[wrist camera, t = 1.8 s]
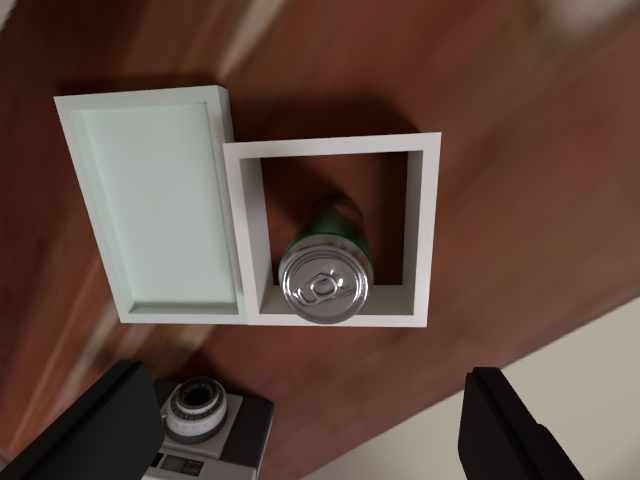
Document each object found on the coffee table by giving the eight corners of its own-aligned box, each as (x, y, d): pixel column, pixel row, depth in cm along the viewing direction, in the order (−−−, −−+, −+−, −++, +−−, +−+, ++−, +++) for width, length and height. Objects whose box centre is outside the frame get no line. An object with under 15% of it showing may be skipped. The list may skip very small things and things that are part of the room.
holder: (246, 142, 24) (222, 143, 20) (422, 133, 23) (441, 132, 18) (264, 294, 29) (248, 324, 24) (412, 294, 27) (426, 327, 23)
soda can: (373, 234, 26) (394, 307, 15) (323, 259, 27) (306, 345, 16) (346, 183, 25) (345, 219, 13) (295, 211, 26) (254, 267, 15)
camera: (280, 375, 32) (252, 474, 22) (271, 430, 35) (243, 539, 25) (155, 349, 32) (75, 436, 23) (156, 405, 35) (85, 503, 26)
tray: (76, 100, 24) (53, 96, 23) (227, 89, 23) (217, 85, 21) (135, 311, 31) (121, 322, 29) (257, 312, 29) (250, 324, 28)
